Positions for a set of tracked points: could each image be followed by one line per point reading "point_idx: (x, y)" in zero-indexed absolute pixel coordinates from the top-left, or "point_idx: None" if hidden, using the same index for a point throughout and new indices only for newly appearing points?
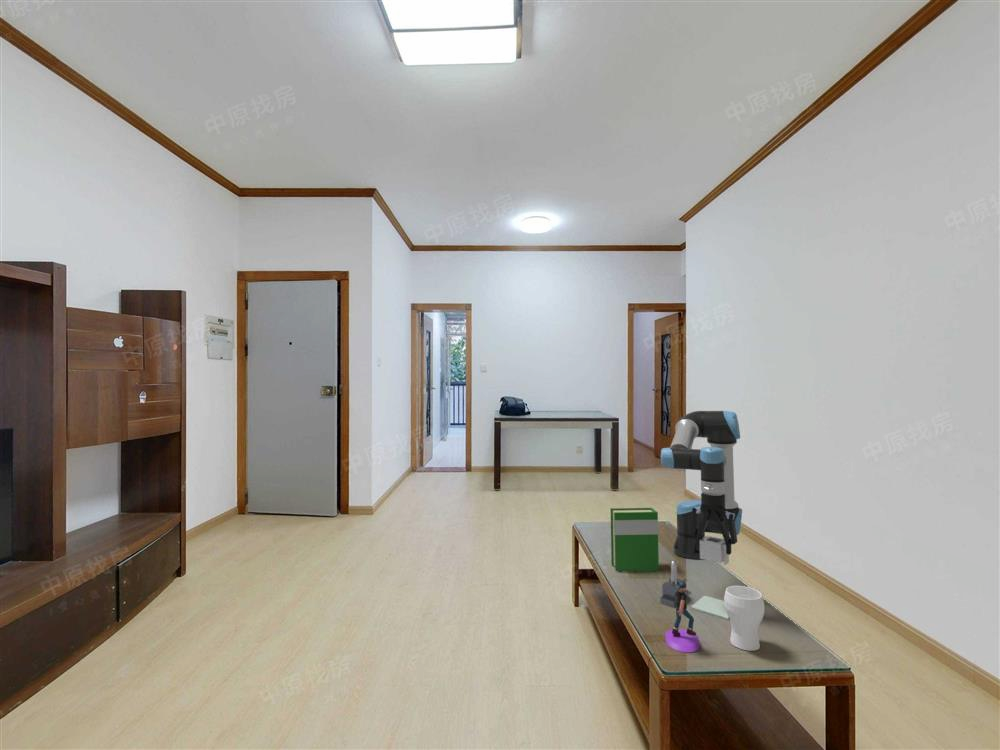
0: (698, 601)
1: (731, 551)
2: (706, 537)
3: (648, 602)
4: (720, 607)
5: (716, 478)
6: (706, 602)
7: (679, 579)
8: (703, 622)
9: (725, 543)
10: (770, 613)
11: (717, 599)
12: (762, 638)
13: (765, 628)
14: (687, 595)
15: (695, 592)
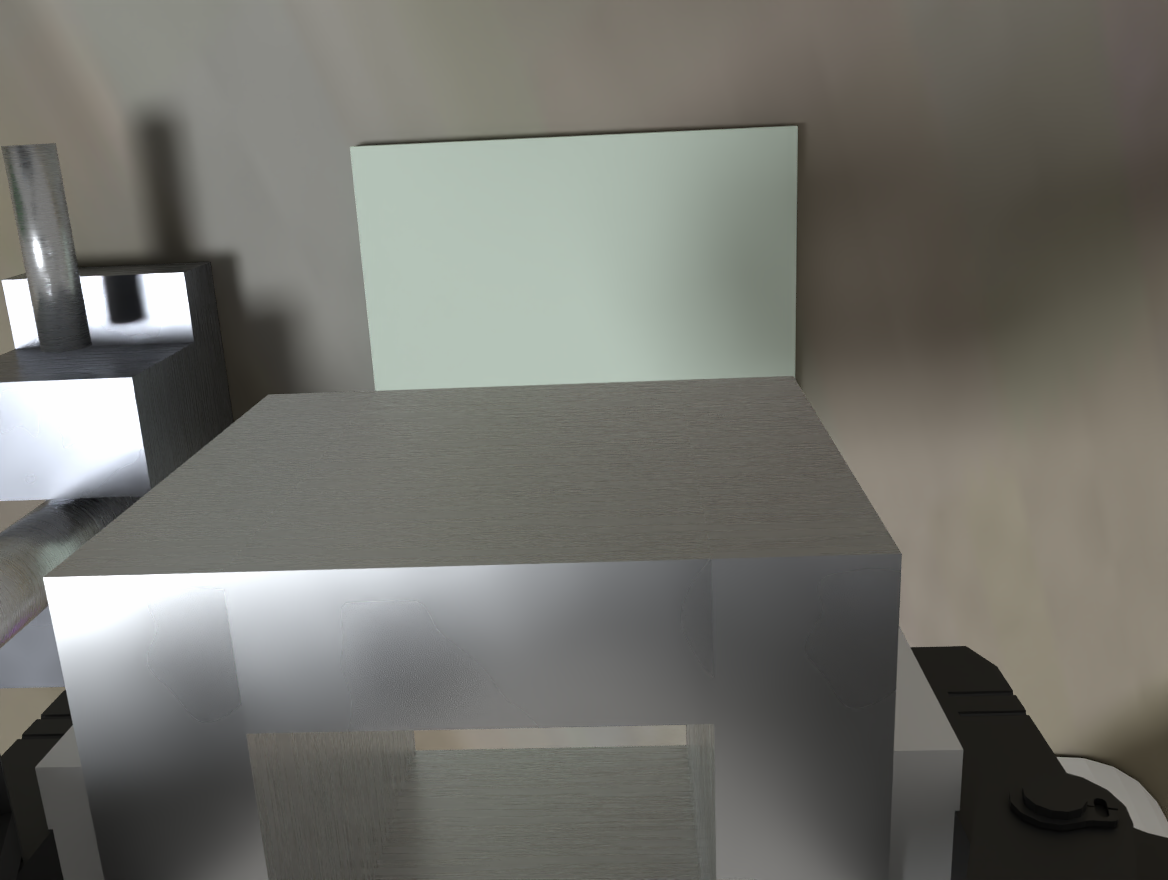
0: (385, 369)
1: (1004, 679)
2: (156, 816)
3: (21, 704)
4: (638, 347)
5: None
6: (464, 332)
7: (41, 388)
8: (623, 734)
9: (892, 847)
10: (1135, 25)
11: (523, 150)
12: (1159, 670)
13: (1149, 454)
14: (207, 291)
15: (208, 81)
